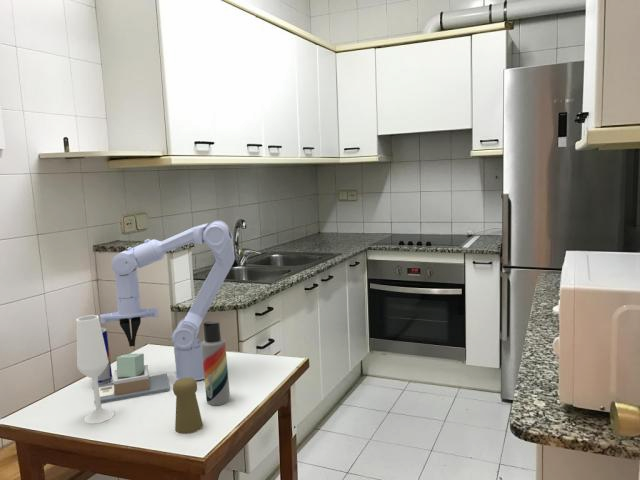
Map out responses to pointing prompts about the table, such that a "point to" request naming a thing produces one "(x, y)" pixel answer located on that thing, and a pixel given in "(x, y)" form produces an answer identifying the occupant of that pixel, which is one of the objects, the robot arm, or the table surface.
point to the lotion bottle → (215, 365)
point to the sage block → (130, 365)
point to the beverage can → (107, 373)
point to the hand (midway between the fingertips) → (132, 345)
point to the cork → (186, 406)
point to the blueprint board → (154, 388)
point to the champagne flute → (92, 360)
